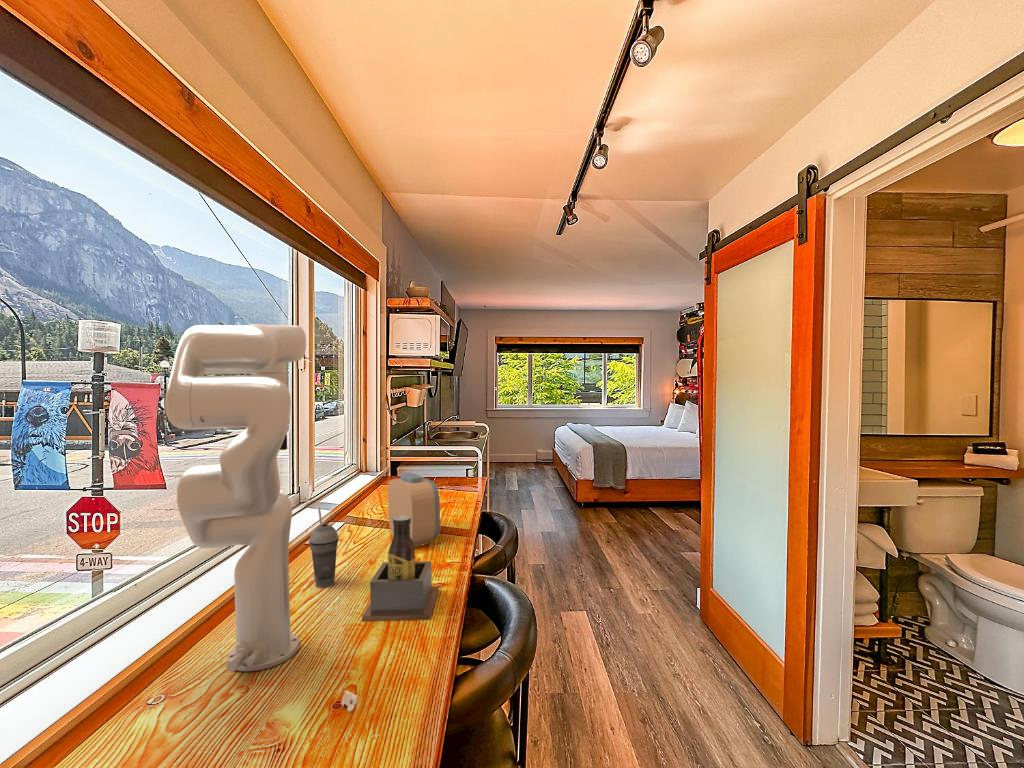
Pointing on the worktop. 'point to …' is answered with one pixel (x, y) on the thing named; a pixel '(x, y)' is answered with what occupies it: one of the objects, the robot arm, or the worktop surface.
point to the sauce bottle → (401, 550)
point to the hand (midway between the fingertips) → (271, 452)
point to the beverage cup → (324, 553)
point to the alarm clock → (415, 506)
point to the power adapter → (349, 700)
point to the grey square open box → (401, 595)
